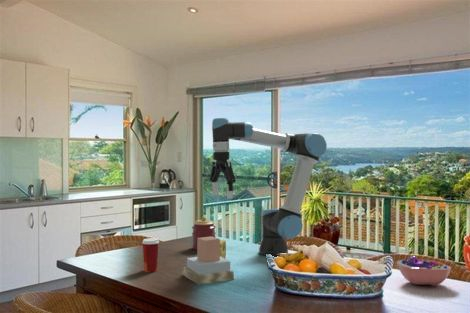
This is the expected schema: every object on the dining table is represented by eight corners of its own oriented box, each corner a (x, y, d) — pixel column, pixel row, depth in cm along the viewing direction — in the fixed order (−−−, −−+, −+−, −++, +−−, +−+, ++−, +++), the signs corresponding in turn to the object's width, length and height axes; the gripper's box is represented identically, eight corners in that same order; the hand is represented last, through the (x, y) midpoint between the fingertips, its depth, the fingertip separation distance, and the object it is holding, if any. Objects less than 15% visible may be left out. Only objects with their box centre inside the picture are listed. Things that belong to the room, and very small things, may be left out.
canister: (215, 251, 243) (214, 218, 243) (190, 251, 243) (190, 218, 243) (216, 246, 256) (216, 214, 256) (193, 246, 256) (193, 214, 256)
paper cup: (162, 269, 206) (162, 238, 206) (152, 273, 199) (152, 241, 199) (148, 267, 209) (148, 237, 209) (138, 271, 202) (138, 240, 202)
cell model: (448, 294, 169) (448, 264, 169) (392, 286, 180) (392, 257, 179) (453, 283, 183) (453, 255, 183) (401, 276, 194) (401, 249, 194)
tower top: (216, 263, 203) (216, 254, 203) (230, 270, 191) (230, 261, 190) (187, 267, 197) (186, 258, 197) (199, 275, 184) (199, 265, 184)
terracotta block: (211, 257, 198) (211, 236, 198) (219, 260, 192) (220, 239, 192) (197, 259, 194) (197, 238, 194) (205, 262, 189) (205, 240, 189)
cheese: (221, 265, 213) (221, 244, 213) (199, 264, 215) (199, 243, 215) (226, 260, 223) (226, 240, 223) (205, 259, 225) (205, 239, 225)
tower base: (216, 271, 204) (216, 263, 204) (233, 280, 190) (233, 271, 190) (183, 276, 197) (183, 267, 196) (198, 286, 182) (198, 276, 182)
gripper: (201, 151, 221) (203, 195, 221) (227, 151, 199) (229, 200, 200) (215, 151, 225) (216, 194, 225) (242, 151, 203) (243, 198, 204)
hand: (222, 197), depth 213 cm, fingers open, 13 cm apart
